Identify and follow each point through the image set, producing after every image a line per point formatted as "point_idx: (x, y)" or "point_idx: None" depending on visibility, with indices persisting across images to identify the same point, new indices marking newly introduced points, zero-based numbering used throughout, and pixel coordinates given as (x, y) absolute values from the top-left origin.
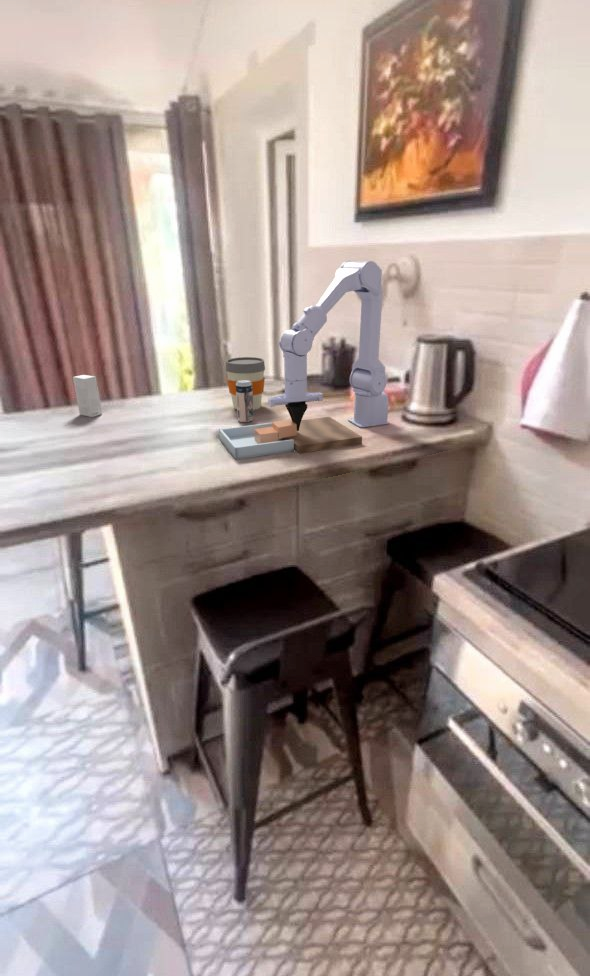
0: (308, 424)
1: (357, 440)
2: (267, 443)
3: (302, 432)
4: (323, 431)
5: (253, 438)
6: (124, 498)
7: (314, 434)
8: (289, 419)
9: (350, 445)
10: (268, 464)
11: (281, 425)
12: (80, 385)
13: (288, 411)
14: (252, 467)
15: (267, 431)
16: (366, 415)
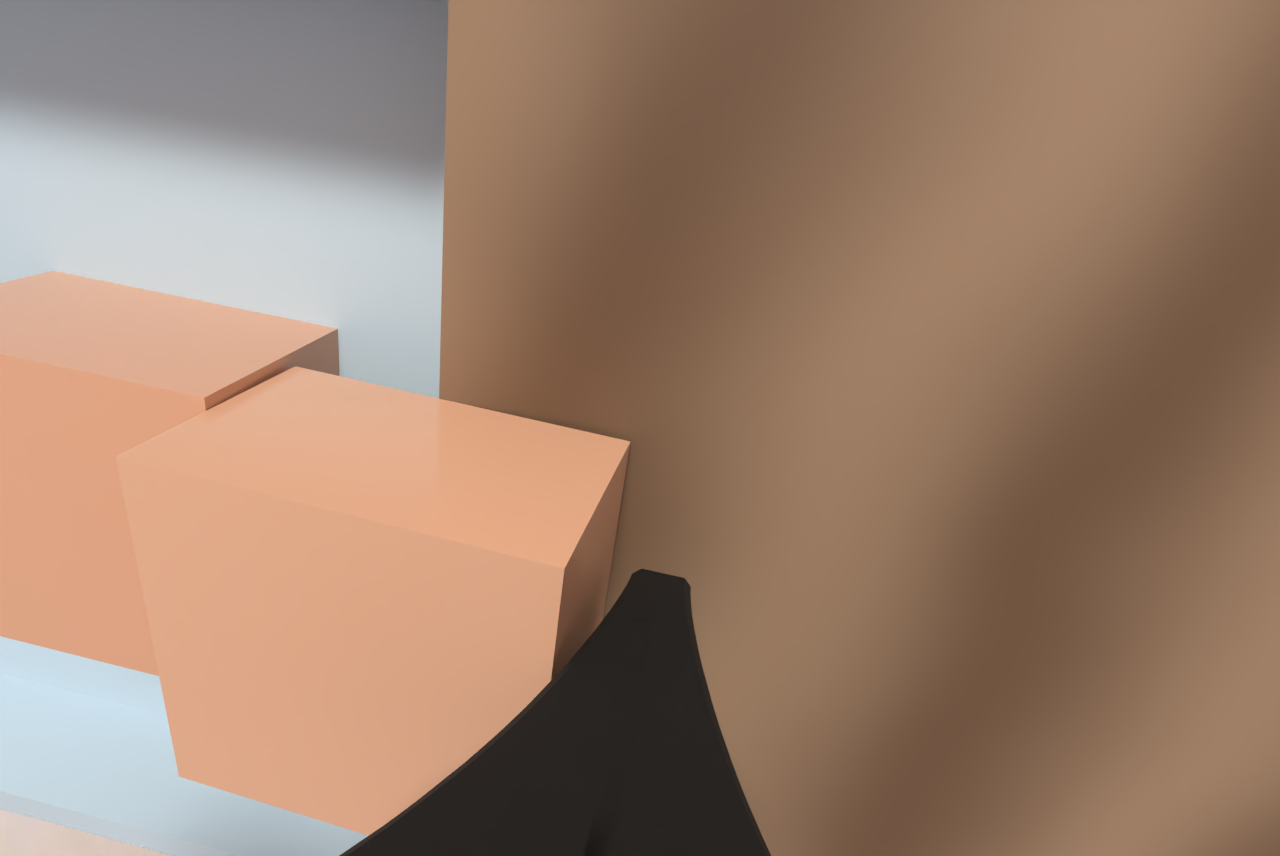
0: (1244, 327)
1: None
2: (61, 822)
3: (752, 648)
4: (1088, 794)
5: (40, 203)
6: None
7: (852, 805)
8: (555, 577)
9: None
10: (141, 849)
11: (254, 742)
12: None
13: (387, 842)
14: (11, 821)
15: (76, 575)
16: None
